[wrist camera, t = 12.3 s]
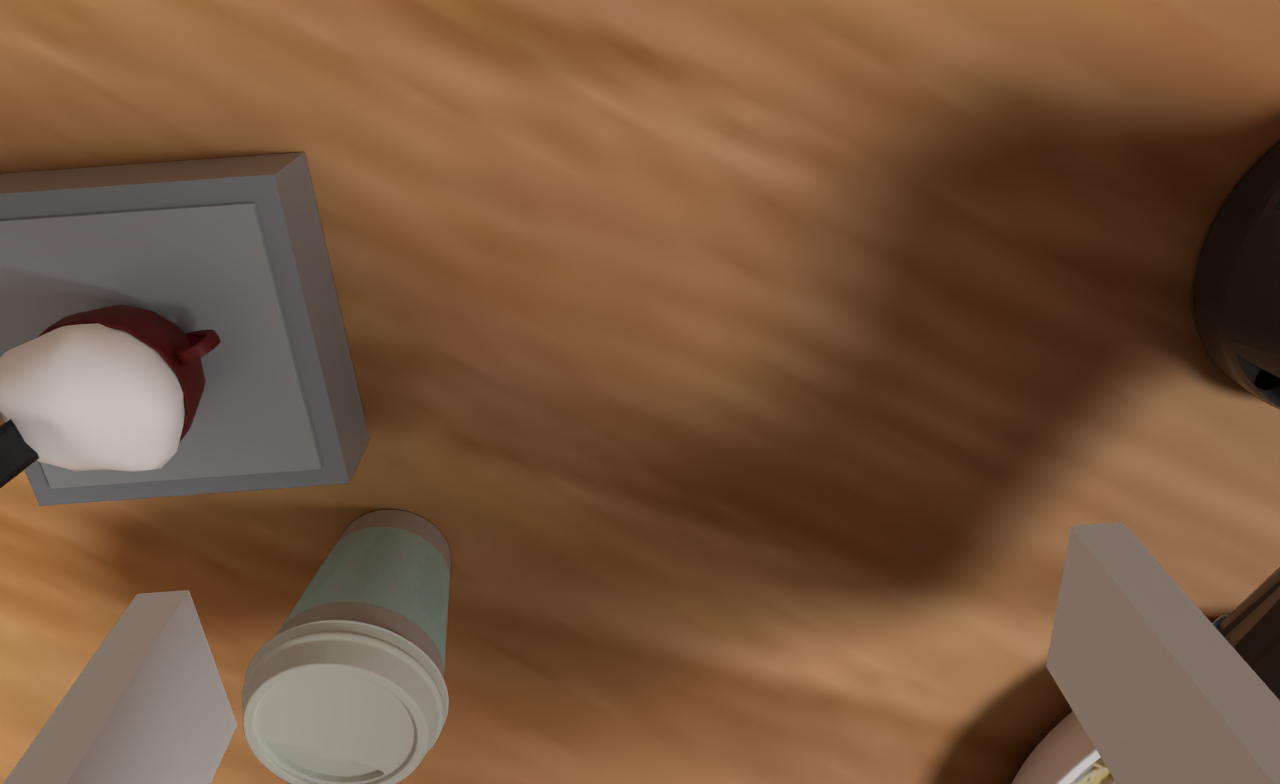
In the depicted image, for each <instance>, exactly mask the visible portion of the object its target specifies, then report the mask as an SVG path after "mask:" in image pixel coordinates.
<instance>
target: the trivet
mask: <svg viewBox="0 0 1280 784" xmlns="http://www.w3.org/2000/svg"><path fill="white" fill-rule="evenodd" d="M120 304H122V305H126V306H131V307H136V308H140V309H145V310H150V311H154V312H155V313H157V314H158V315H160V316H161V317H163V318H165V319H166V320H168V321H169V322H171V323H172V324H174V325H176V326H177V327H179V328H180V329H182V331H183V332H184V333H185V334H186V333H190V332H193V331H200V330H209V329H210V330H214V331H215V332H216V333H217V334H218V336H219V338H220V340H221V342H220V344H219V345H218V346H217V347H216V348H214V349H213V350H212V351H210V352H209V353H208V354H206V355H204V356H203V357H201V362H202V367H203V372H204V377H205V386H204V391H203V394H202V397H201V400H200V402H199V405H198V408H197V411H196V414H195V417H194V420H193V422H192V425H191V428H190V429H189V431H188V432H187V434H186V435H185V436H184V438H183V439H182V440H181V442H179V445H178V449H177V452H176V453H175V454H174V455H173V456H172V457H171V459H170V460H169V461H168V462H167V463H166V464H165V465H164V466H163V467H162V468H161V469H154V470H146V471H138V472H129V471H118V470H107V469H104V470H88V471H72V470H68V469H65V468H61V467H57V466H53V465H50V464H46V463H42V462H39V461H37V460H36V461H35V462H34V463H32V464H31V465H30V466H28V467H27V468H26V469H24V470H25V473H26V475H27V477H28V480H29V482H30V484H31V487H32V489H33V491H34V494H35V496H36V498H37V501H38V503H39V505H40V506H45V505H58V504H72V503H86V502H100V501H114V500H128V499H141V498H155V497H169V496H183V495H197V494H211V493H225V492H238V491H252V490H266V489H280V488H294V487H308V486H321V485H335V484H349V483H350V481H351V479H352V477H353V475H354V472H355V470H356V468H357V466H358V464H359V462H360V459H361V457H362V455H363V453H364V451H365V449H366V446H367V444H368V442H369V440H370V439H369V435H368V430H367V426H366V421H365V417H364V412H363V408H362V404H361V399H360V395H359V390H358V386H357V381H356V377H355V373H354V368H353V364H352V359H351V355H350V350H349V346H348V341H347V337H346V333H345V328H344V324H343V319H342V315H341V310H340V306H339V302H338V297H337V293H336V288H335V284H334V279H333V275H332V270H331V266H330V262H329V257H328V253H327V248H326V244H325V239H324V235H323V231H322V226H321V222H320V217H319V213H318V208H317V204H316V199H315V195H314V191H313V186H312V182H311V177H310V173H309V168H308V164H307V160H306V155H305V152H298V153H284V154H270V155H256V156H241V157H227V158H213V159H199V160H185V161H171V162H157V163H143V164H129V165H115V166H101V167H87V168H72V169H58V170H44V171H30V172H16V173H2V174H0V357H1V356H2V355H3V354H4V353H5V352H6V351H8V350H10V349H13V348H15V347H17V346H20V345H22V344H24V343H26V342H29V341H31V340H33V339H35V338H37V337H38V336H39V335H40V334H41V333H42V332H43V331H45V330H46V329H47V328H48V327H49V326H51V325H52V324H54V323H56V322H57V321H59V320H61V319H62V318H64V317H66V316H70V315H73V314H76V313H80V312H85V311H90V310H95V309H100V308H105V307H110V306H115V305H120ZM0 414H1V417H2V419H3V421H4V423H6V422H7V418H6V417H5V416H4V415H3V413H2V412H1V411H0Z"/></svg>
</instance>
